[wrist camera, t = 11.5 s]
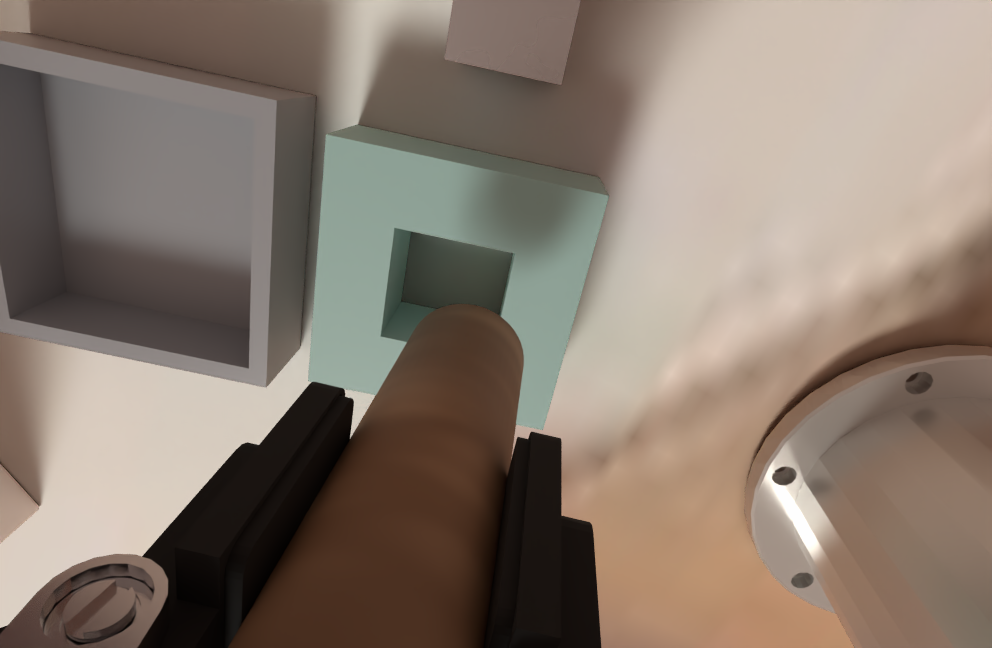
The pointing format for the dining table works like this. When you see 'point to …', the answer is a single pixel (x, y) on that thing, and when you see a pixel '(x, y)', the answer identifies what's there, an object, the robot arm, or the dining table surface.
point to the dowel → (407, 503)
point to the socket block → (455, 216)
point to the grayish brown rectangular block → (513, 36)
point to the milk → (13, 505)
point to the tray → (152, 209)
